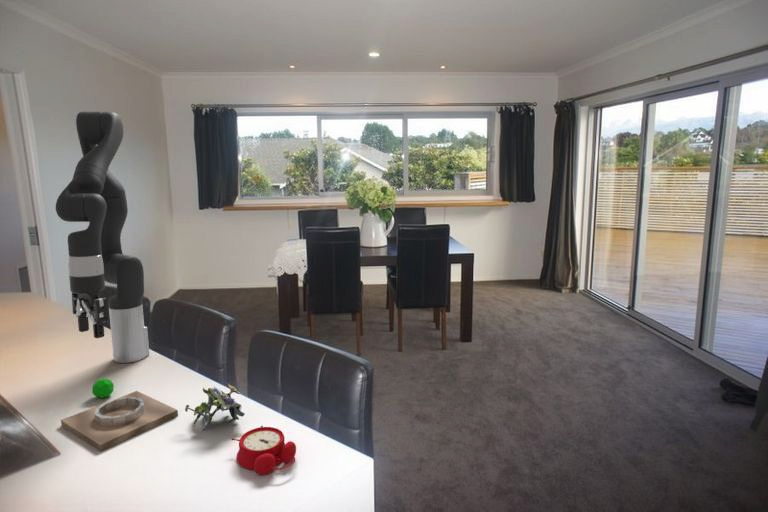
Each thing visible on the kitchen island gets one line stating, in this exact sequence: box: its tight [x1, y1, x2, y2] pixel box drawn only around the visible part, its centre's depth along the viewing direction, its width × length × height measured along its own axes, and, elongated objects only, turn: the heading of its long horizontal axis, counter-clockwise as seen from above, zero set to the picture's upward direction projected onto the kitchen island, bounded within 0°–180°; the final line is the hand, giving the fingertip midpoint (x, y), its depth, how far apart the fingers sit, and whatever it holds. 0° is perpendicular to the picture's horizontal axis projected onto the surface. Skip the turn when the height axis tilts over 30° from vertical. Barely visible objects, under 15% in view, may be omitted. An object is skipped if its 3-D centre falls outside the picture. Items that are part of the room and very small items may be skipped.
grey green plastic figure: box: [184, 382, 245, 432], centre depth 111 cm, size 11×11×12 cm
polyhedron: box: [91, 377, 115, 399], centre depth 124 cm, size 5×5×5 cm
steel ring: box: [94, 397, 144, 426], centre depth 112 cm, size 10×10×2 cm
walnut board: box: [60, 390, 179, 452], centre depth 112 cm, size 18×18×2 cm
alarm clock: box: [231, 425, 297, 476], centre depth 98 cm, size 10×6×15 cm
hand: (91, 334), depth 122 cm, fingers open, 8 cm apart
